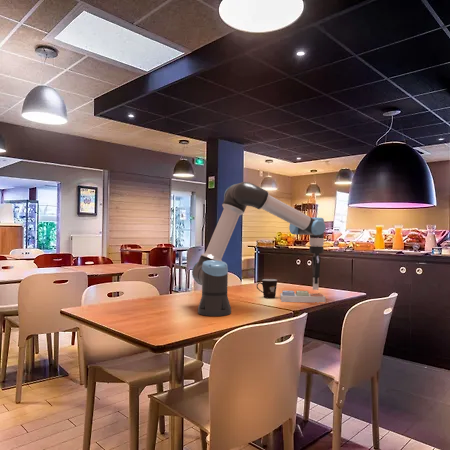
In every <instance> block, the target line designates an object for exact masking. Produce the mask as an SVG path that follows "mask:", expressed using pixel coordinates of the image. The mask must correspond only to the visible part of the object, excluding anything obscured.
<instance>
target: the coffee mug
mask: <svg viewBox="0 0 450 450" xmlns="http://www.w3.org/2000/svg"><path fill="white" fill-rule="evenodd" d="M259 284H261V285H262V290H261V289H259V287H258V286H259ZM277 285H278V279H274V278H270V279H269V278H264V279H262V280H261V282H258V283H256V289H257V290H258V291H259V292H261V293H263V298H264V299H269V300H271V299H275V298H276V293H277V287H278V286H277Z"/></svg>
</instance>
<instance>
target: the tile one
mask: <svg viewBox="0 0 450 450" xmlns="http://www.w3.org/2000/svg"><path fill="white" fill-rule="evenodd" d="M295 292H296V291H294V290H282V292H281V293H282V295H283V296H295Z"/></svg>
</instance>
